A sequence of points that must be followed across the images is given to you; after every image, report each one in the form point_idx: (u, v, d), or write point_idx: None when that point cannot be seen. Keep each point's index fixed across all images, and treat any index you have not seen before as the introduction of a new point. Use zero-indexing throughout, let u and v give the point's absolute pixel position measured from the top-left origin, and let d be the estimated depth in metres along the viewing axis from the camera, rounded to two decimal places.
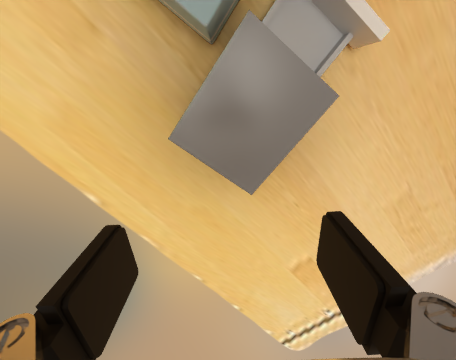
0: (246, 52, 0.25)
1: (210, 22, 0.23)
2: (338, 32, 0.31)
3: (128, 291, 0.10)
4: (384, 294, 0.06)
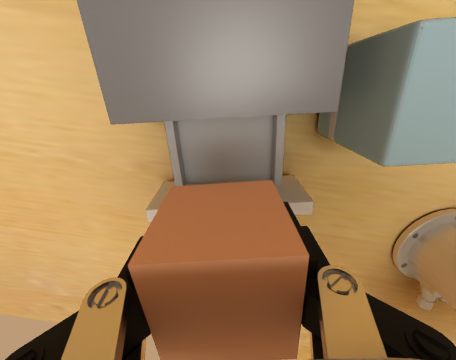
0: (307, 54, 0.12)
1: (408, 38, 0.11)
2: (193, 180, 0.25)
3: None
4: None
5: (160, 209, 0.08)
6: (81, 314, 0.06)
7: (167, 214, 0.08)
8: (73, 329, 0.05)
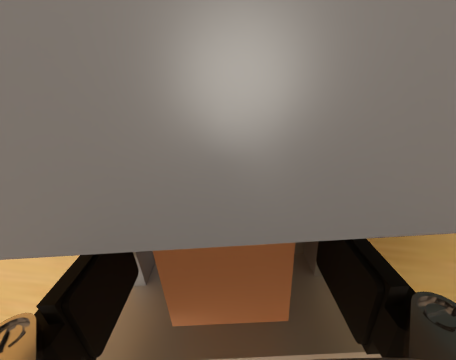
0: None
1: None
2: None
3: (128, 291, 0.10)
4: (383, 294, 0.06)
5: None
6: None
7: None
8: None
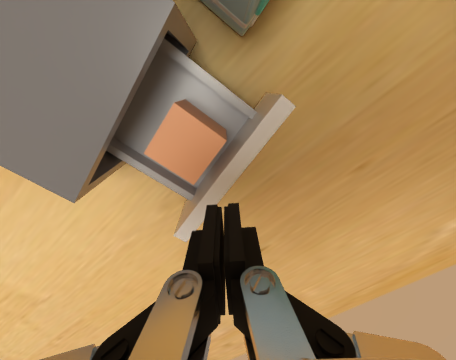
0: None
1: None
2: (198, 182, 0.24)
3: None
4: (229, 268, 0.07)
5: None
6: (160, 298, 0.06)
7: None
8: (152, 311, 0.06)
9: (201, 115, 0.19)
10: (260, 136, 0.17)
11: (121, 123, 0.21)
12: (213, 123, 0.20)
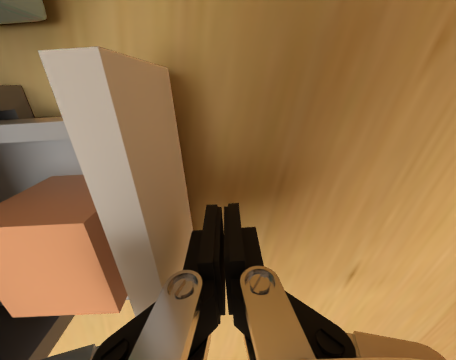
0: None
1: None
2: None
3: None
4: (229, 268, 0.07)
5: None
6: (160, 298, 0.06)
7: None
8: (152, 311, 0.06)
9: (62, 191, 0.10)
10: (109, 178, 0.06)
11: None
12: None
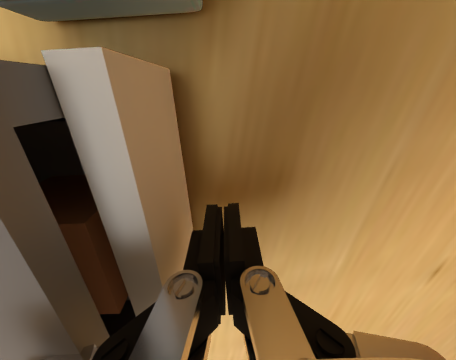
0: None
1: None
2: None
3: None
4: (229, 268, 0.07)
5: None
6: (161, 298, 0.06)
7: None
8: (152, 311, 0.06)
9: (63, 191, 0.10)
10: (110, 178, 0.06)
11: None
12: None
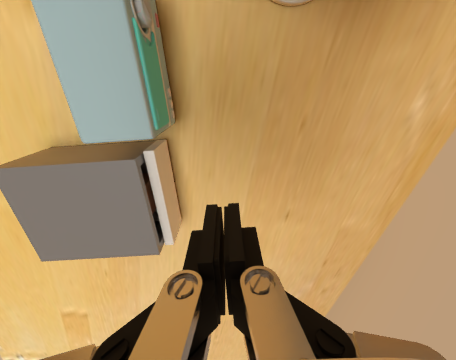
0: (112, 178, 0.26)
1: (91, 142, 0.23)
2: None
3: None
4: (229, 268, 0.07)
5: None
6: (160, 298, 0.06)
7: None
8: (152, 311, 0.06)
9: None
10: (153, 174, 0.29)
11: None
12: None
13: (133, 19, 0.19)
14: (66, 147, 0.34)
